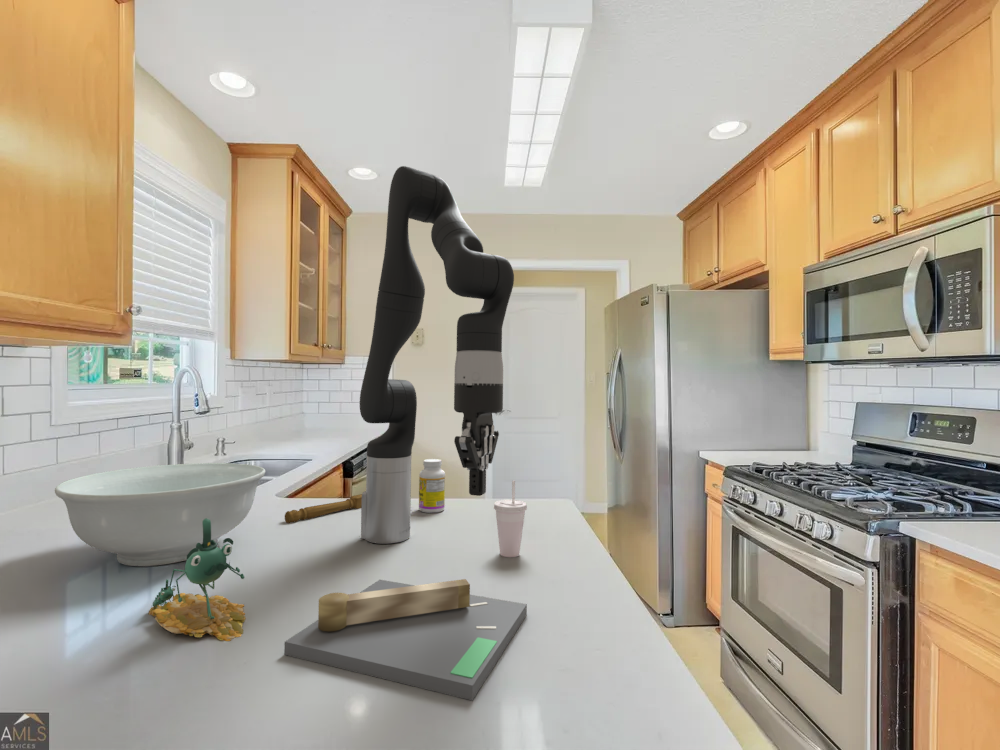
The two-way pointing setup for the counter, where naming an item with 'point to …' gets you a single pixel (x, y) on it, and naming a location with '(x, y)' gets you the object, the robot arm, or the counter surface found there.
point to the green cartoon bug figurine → (199, 610)
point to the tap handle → (323, 509)
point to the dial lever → (390, 603)
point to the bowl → (158, 508)
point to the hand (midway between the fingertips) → (477, 494)
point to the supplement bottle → (432, 487)
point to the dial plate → (419, 644)
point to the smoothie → (510, 524)
